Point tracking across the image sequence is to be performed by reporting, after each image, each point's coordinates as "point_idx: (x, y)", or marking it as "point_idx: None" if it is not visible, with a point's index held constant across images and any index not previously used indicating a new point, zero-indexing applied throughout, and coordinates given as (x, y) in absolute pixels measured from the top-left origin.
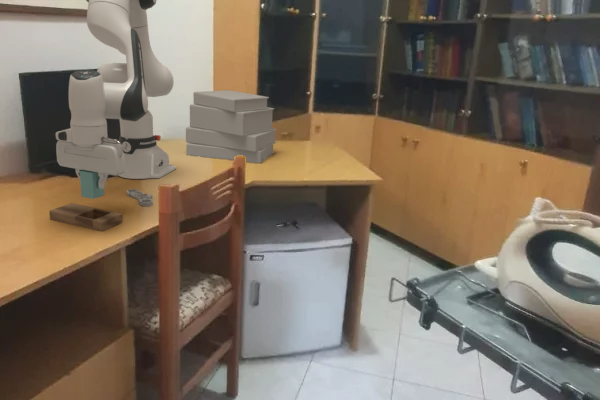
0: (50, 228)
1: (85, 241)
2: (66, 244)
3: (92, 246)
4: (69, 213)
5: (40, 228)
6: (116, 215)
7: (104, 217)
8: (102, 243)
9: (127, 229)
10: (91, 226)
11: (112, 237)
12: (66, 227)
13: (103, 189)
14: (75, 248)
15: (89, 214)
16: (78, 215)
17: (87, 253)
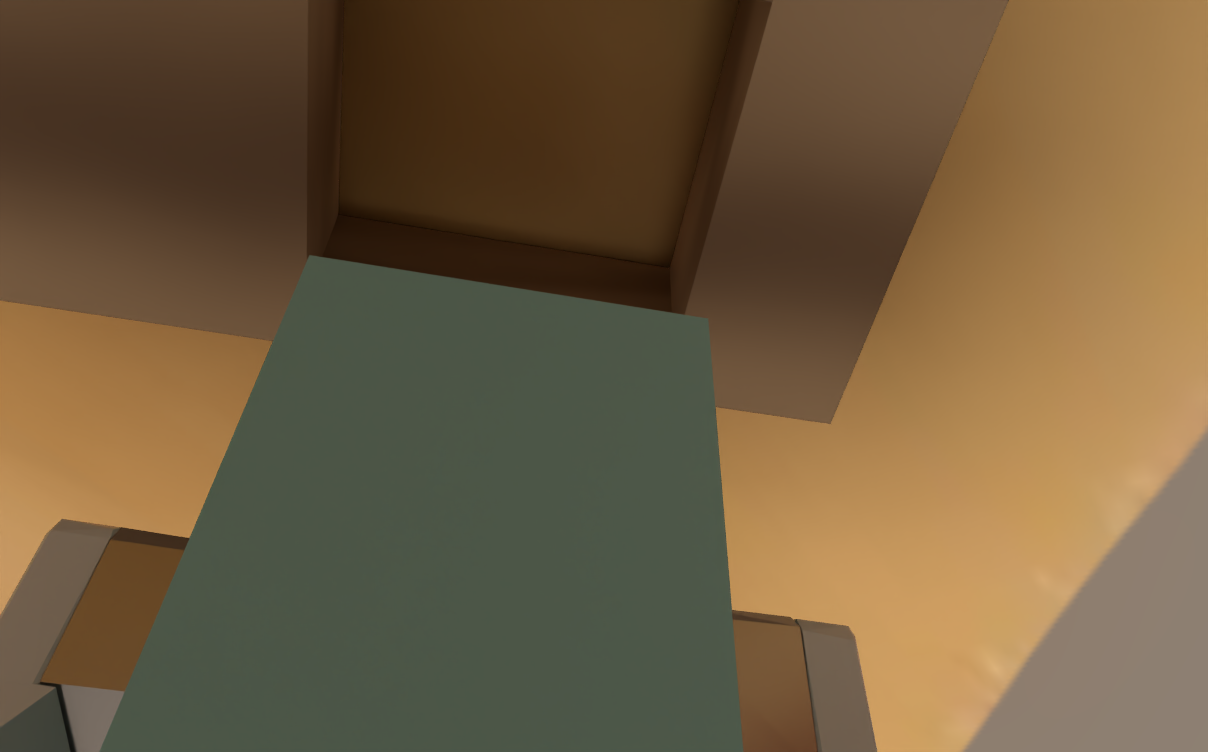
0: (152, 425)
1: (770, 583)
2: None
3: (898, 643)
4: (120, 267)
5: (55, 454)
6: (938, 96)
7: (772, 250)
8: (968, 578)
9: (1148, 169)
10: None
11: (1020, 442)
12: None
13: (711, 435)
14: None
15: (326, 20)
16: None
17: (920, 737)
